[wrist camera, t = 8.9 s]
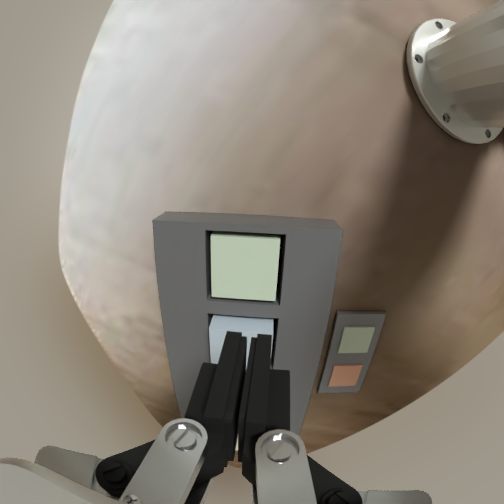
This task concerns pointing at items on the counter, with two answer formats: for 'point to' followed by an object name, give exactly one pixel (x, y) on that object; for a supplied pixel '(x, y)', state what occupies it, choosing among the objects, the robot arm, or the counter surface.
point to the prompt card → (350, 350)
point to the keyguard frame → (283, 308)
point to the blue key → (236, 324)
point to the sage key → (244, 265)
